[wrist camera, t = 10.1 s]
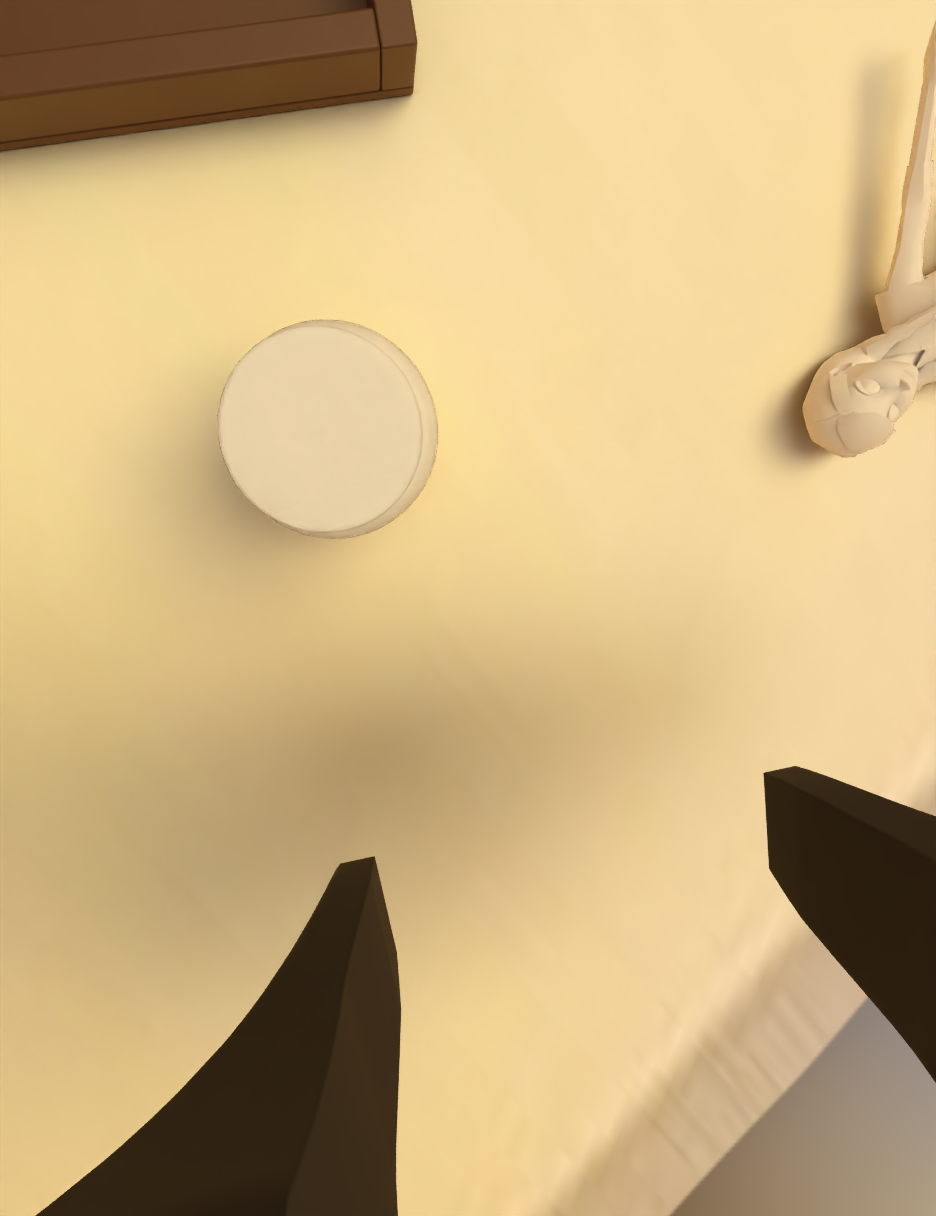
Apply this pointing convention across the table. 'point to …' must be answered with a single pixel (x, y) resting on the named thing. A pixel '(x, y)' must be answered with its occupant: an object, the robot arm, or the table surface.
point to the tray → (191, 62)
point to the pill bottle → (328, 428)
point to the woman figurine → (887, 320)
